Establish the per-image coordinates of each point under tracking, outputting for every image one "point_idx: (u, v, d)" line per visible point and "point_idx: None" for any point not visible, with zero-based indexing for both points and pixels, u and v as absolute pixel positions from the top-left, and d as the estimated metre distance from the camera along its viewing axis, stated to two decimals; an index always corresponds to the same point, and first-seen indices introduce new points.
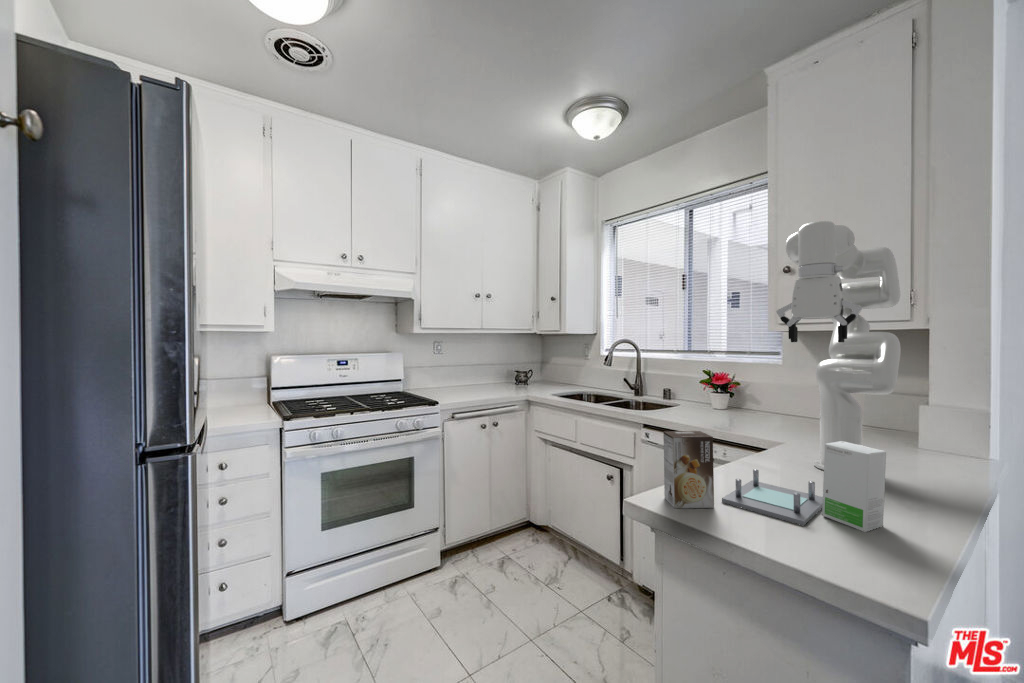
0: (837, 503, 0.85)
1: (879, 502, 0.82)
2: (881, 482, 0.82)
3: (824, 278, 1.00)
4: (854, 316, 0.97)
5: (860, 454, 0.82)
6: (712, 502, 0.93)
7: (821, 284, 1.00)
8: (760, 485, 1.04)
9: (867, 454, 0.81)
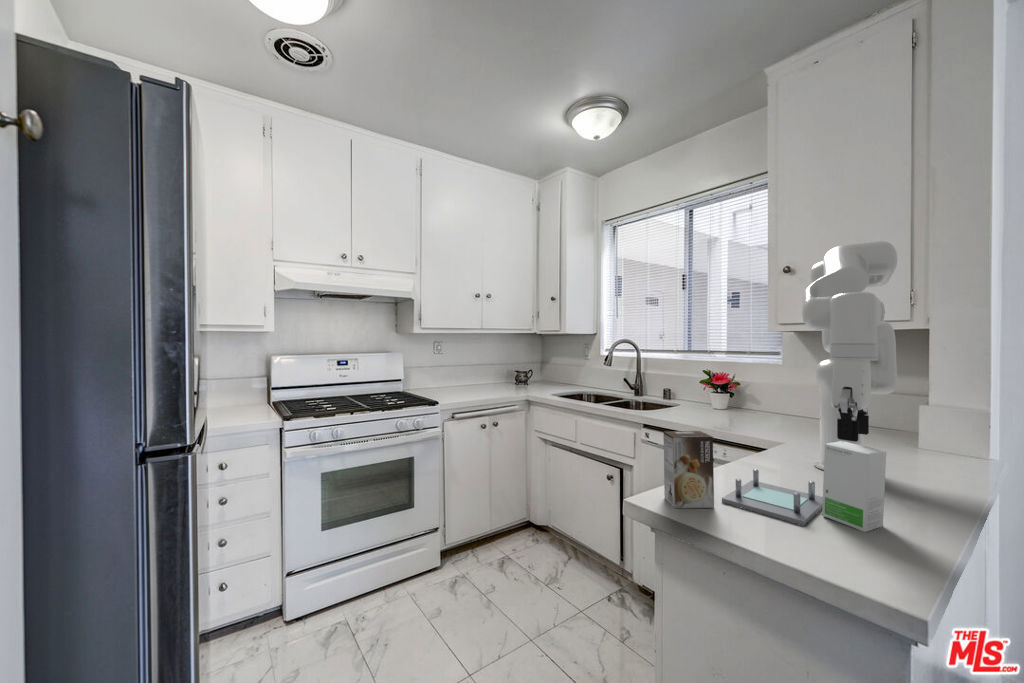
0: (837, 503, 0.85)
1: (879, 502, 0.82)
2: (881, 482, 0.82)
3: None
4: None
5: (860, 454, 0.82)
6: (712, 502, 0.93)
7: (870, 368, 0.84)
8: (760, 485, 1.04)
9: (867, 454, 0.81)
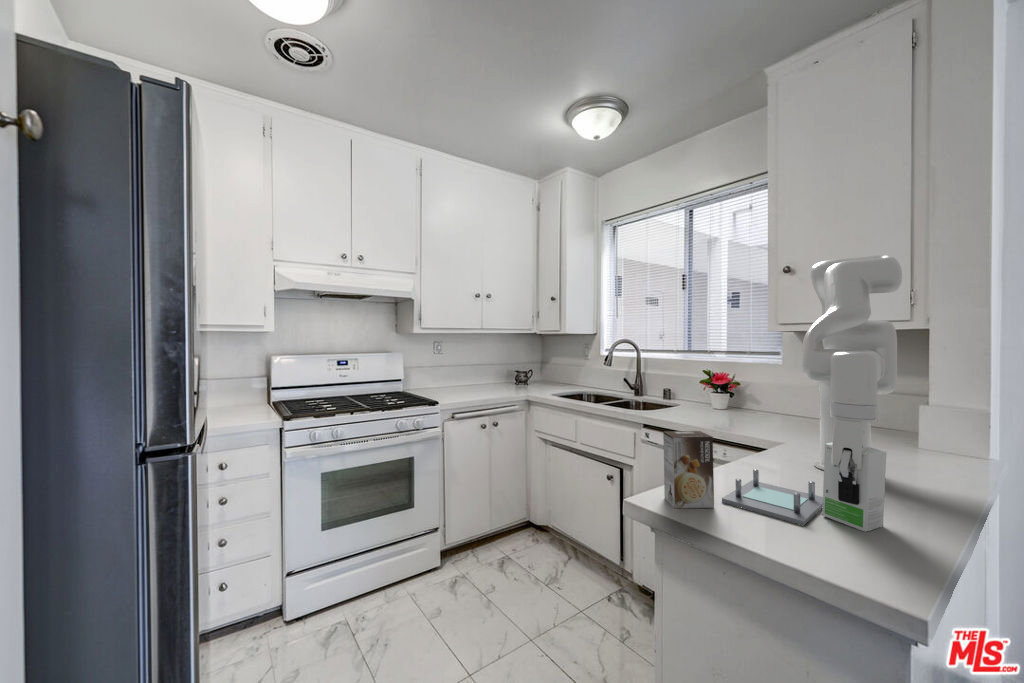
0: (837, 503, 0.85)
1: (879, 502, 0.82)
2: (881, 482, 0.82)
3: None
4: None
5: None
6: (712, 502, 0.93)
7: (870, 427, 0.84)
8: (760, 485, 1.04)
9: (867, 454, 0.81)
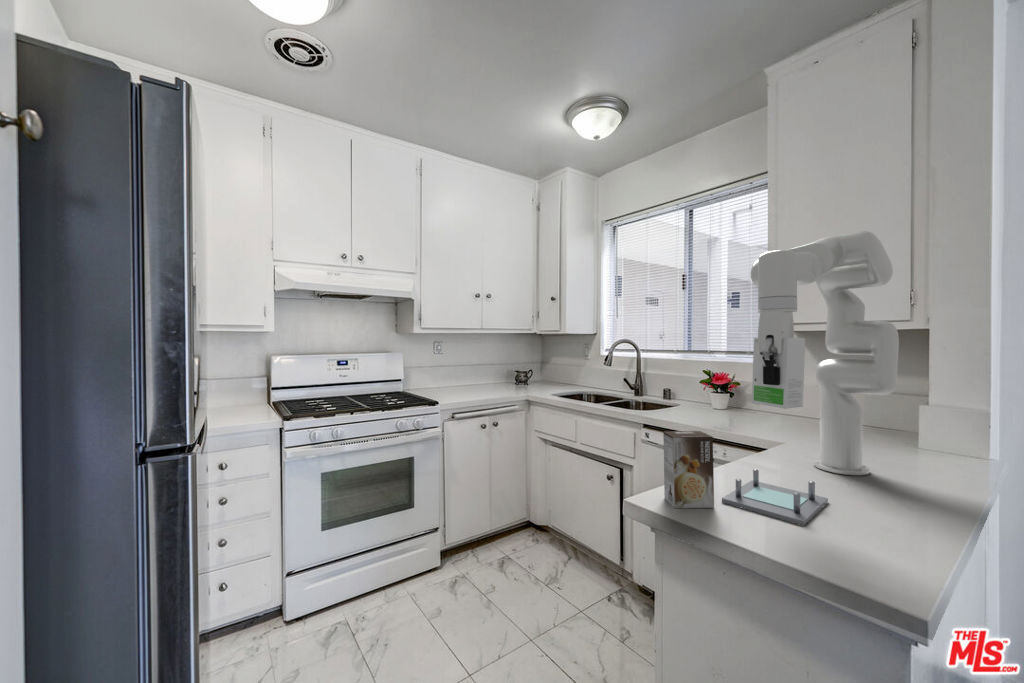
0: (763, 388, 0.94)
1: (799, 383, 0.92)
2: (801, 366, 0.92)
3: (792, 313, 0.94)
4: None
5: None
6: (712, 502, 0.93)
7: (791, 319, 0.94)
8: (760, 485, 1.04)
9: (787, 338, 0.90)
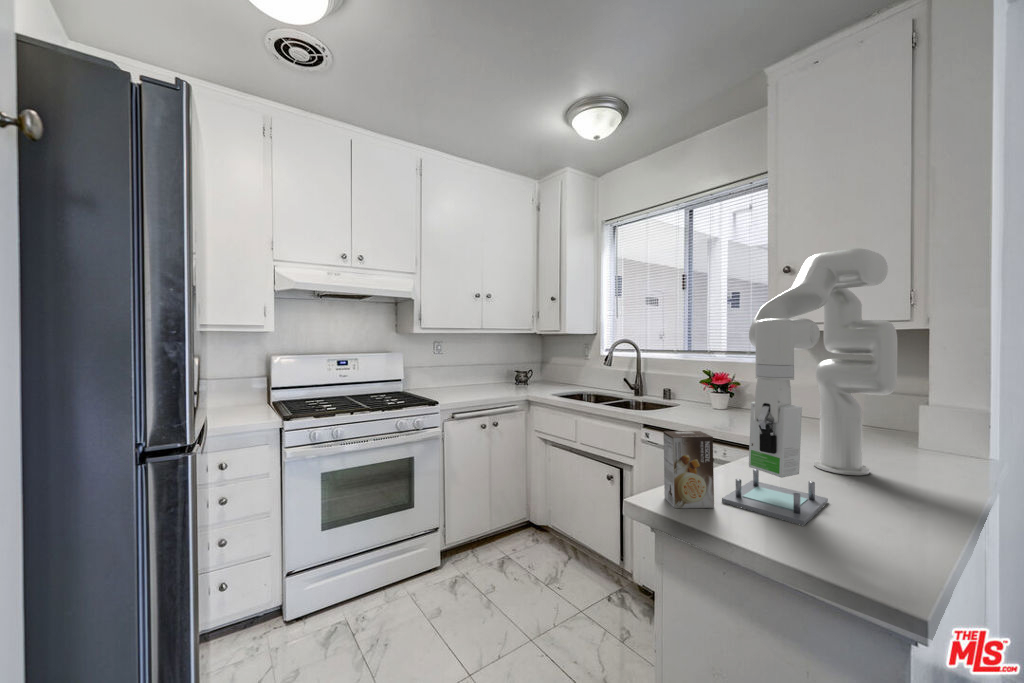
0: (760, 454, 0.95)
1: (795, 451, 0.92)
2: (797, 434, 0.92)
3: (789, 380, 0.95)
4: None
5: None
6: (712, 502, 0.93)
7: (788, 386, 0.94)
8: (760, 485, 1.04)
9: (783, 408, 0.91)
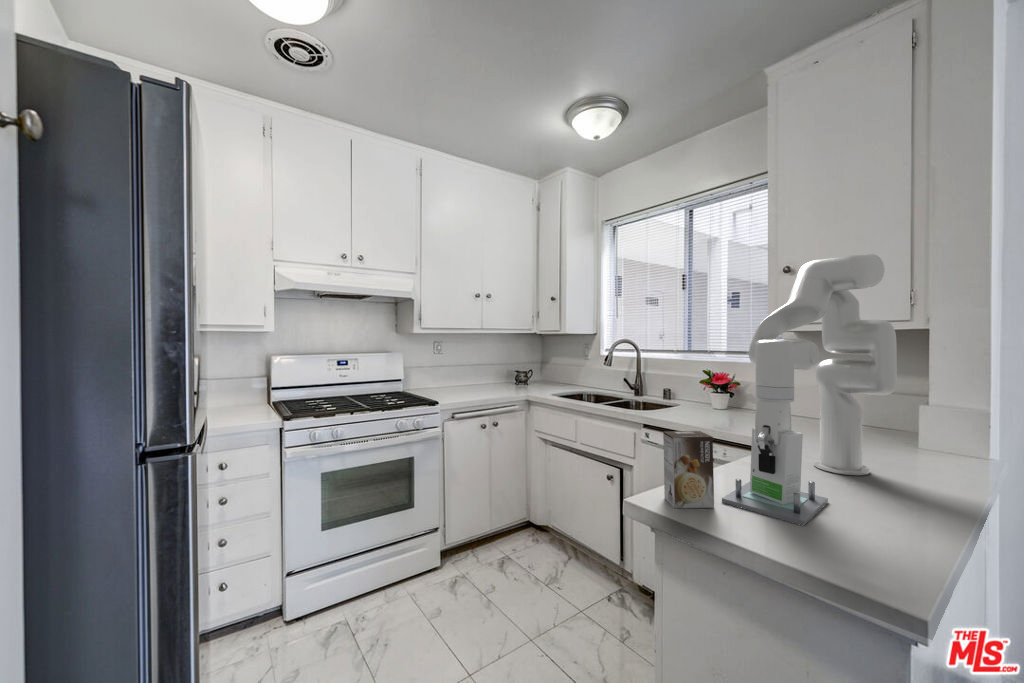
0: (762, 481, 0.95)
1: (796, 478, 0.93)
2: (798, 461, 0.93)
3: None
4: None
5: None
6: (712, 502, 0.93)
7: (788, 407, 0.94)
8: None
9: (785, 435, 0.91)
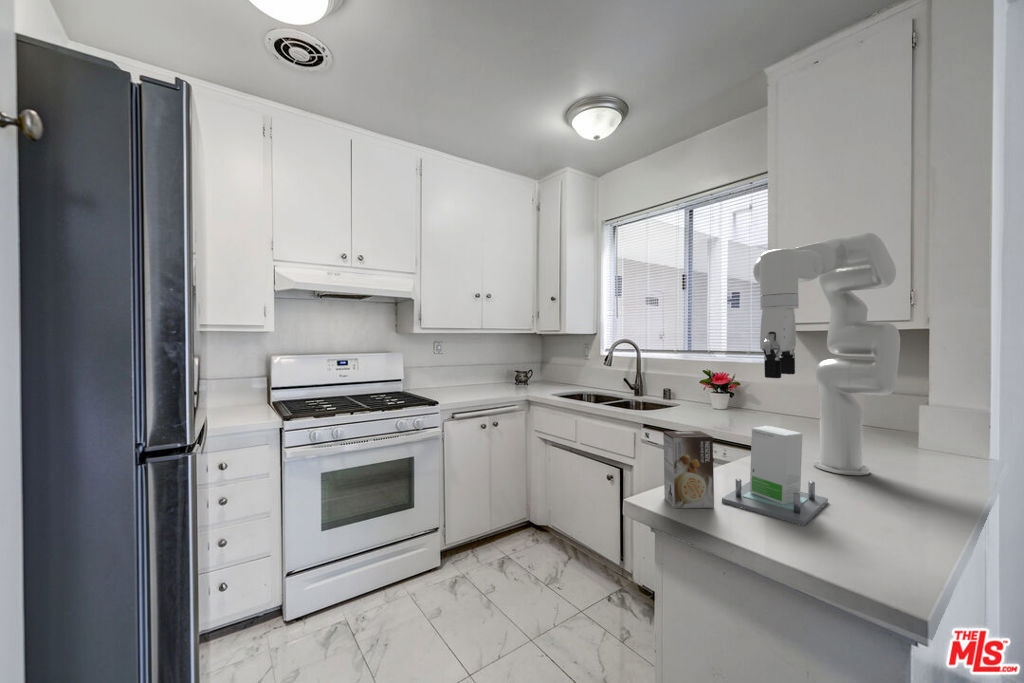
0: (762, 481, 0.95)
1: (796, 478, 0.93)
2: (798, 461, 0.93)
3: (793, 310, 0.97)
4: None
5: (779, 436, 0.92)
6: (712, 502, 0.93)
7: (793, 315, 0.96)
8: None
9: (785, 436, 0.91)
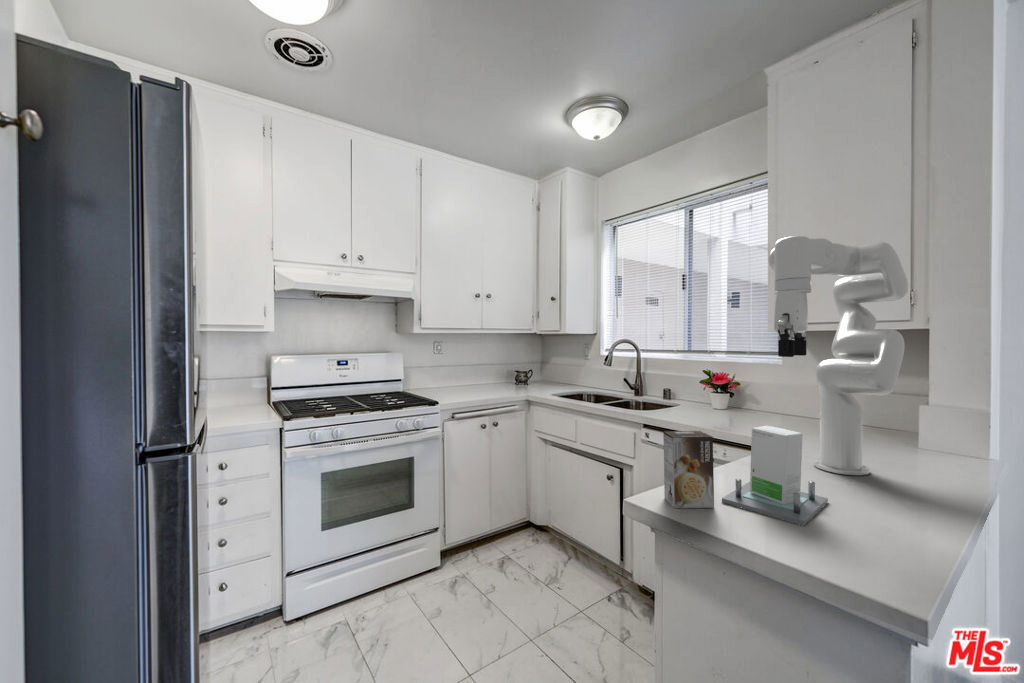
0: (762, 481, 0.95)
1: (796, 478, 0.93)
2: (798, 461, 0.93)
3: (806, 294, 1.03)
4: None
5: (779, 436, 0.92)
6: (712, 502, 0.93)
7: (805, 299, 1.02)
8: None
9: (785, 436, 0.91)
